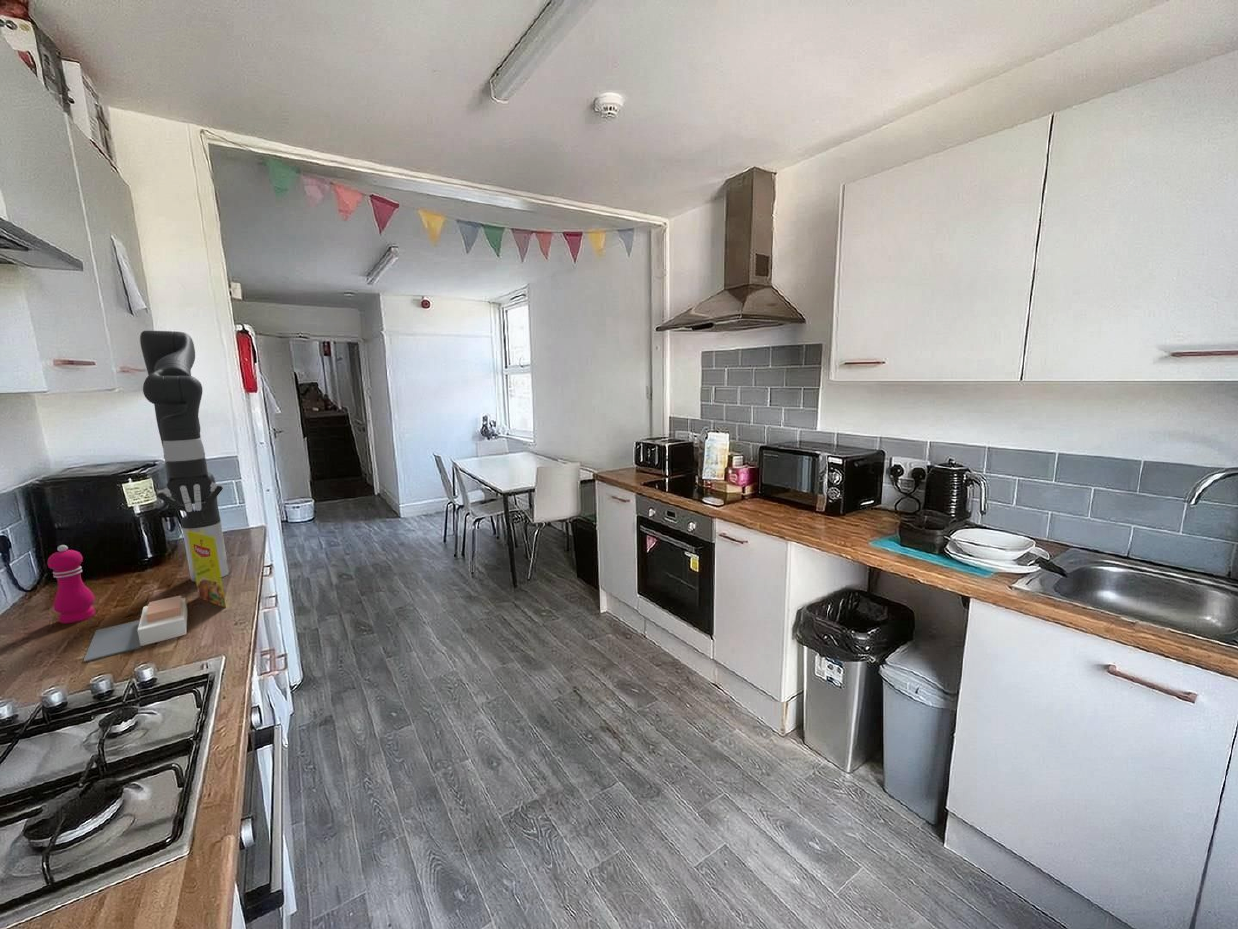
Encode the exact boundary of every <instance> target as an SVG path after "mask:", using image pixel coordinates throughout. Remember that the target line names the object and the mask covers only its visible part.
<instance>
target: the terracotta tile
mask: <svg viewBox="0 0 1238 929" xmlns="http://www.w3.org/2000/svg"><path fill="white" fill-rule="evenodd" d="M182 598H183V597H182V595H181V594H180V595H176V596H173V597H172V596H171V597H167V598H162V599H157V600H153V601H149V602H148V605H147V606H148V609H147V613H146V617H147V622H153V621H157V620H161V619H165V618H169V617H174V616H178V615H181V611H182Z"/></svg>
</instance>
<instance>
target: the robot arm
mask: <svg viewBox="0 0 1238 929" xmlns="http://www.w3.org/2000/svg"><path fill="white" fill-rule="evenodd" d="M139 342H140V348H141V352H142V356H143V360H144V363H145V367H146V371H147V377H146V378H145V380H144V381H143V386H142V393H143V395H144V397H145V399H146V400H147V401H148V402H149V403H151V404H153V406H154V412H155V419H156V424H157V429H158V433H159V437H160V442H161V445H162V450H163V458H164V462H165V463H164V464H165V472H166V479H167V480H166V481H167V484H166V487H165V488H164V489H163V490H161V491H159V492H158V493H157V495H156V496H157V498H158V499H160V500H161V501H162V502H164V503H166V505H169V506H170V507H171V508H173V509H174V510H176V511H177V512H180V511H182V512H185V513H186V515H184V516H183V517H182V518H181V520H180V525H181V529H182V536H183V540H184V546H185V551H186V558H187V564H188V569H189V576H190V581H191V582H194V583H196V578H195V572H194V566H193V561H192V555H191V549H190V543H189V537H188V532H187V530H189V531H192V532H196V533H200V534H203V535H207V536H211V537H214V538H215V543H216V548H217V554H218V560H219V566H220V573H221V578H224V577H225V576H227V575H229V573H230V572H229V571H230V570H229V565H228V558H227V553H226V546H225V540H224V533H223V527H222V521H221V516H220V511H219V505H218V504H219V503H218V496H219V495H220V493H221V492H222V490H223V488H224V487H223V485H222V484H217V483H216V479H215V477H214V475H213V474H212V473H211V472H209V471H208V466H207V459H206V453H205V448H204V444H203V442H202V436H201V423H200V416H199V412H200V406H201V401H202V396H203V385H202V383H201V382H200V380H199V379H197V378H196V377H195V376H192V369H193V366H194V364H195V359H196V348H195V343H194V340H193V338H192V337H191V336H190V334H188V333H186V332H182V331H171V330H169V331H168V330H143V331H142V332H141V333H140V336H139ZM193 505H194V507H193Z"/></svg>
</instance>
